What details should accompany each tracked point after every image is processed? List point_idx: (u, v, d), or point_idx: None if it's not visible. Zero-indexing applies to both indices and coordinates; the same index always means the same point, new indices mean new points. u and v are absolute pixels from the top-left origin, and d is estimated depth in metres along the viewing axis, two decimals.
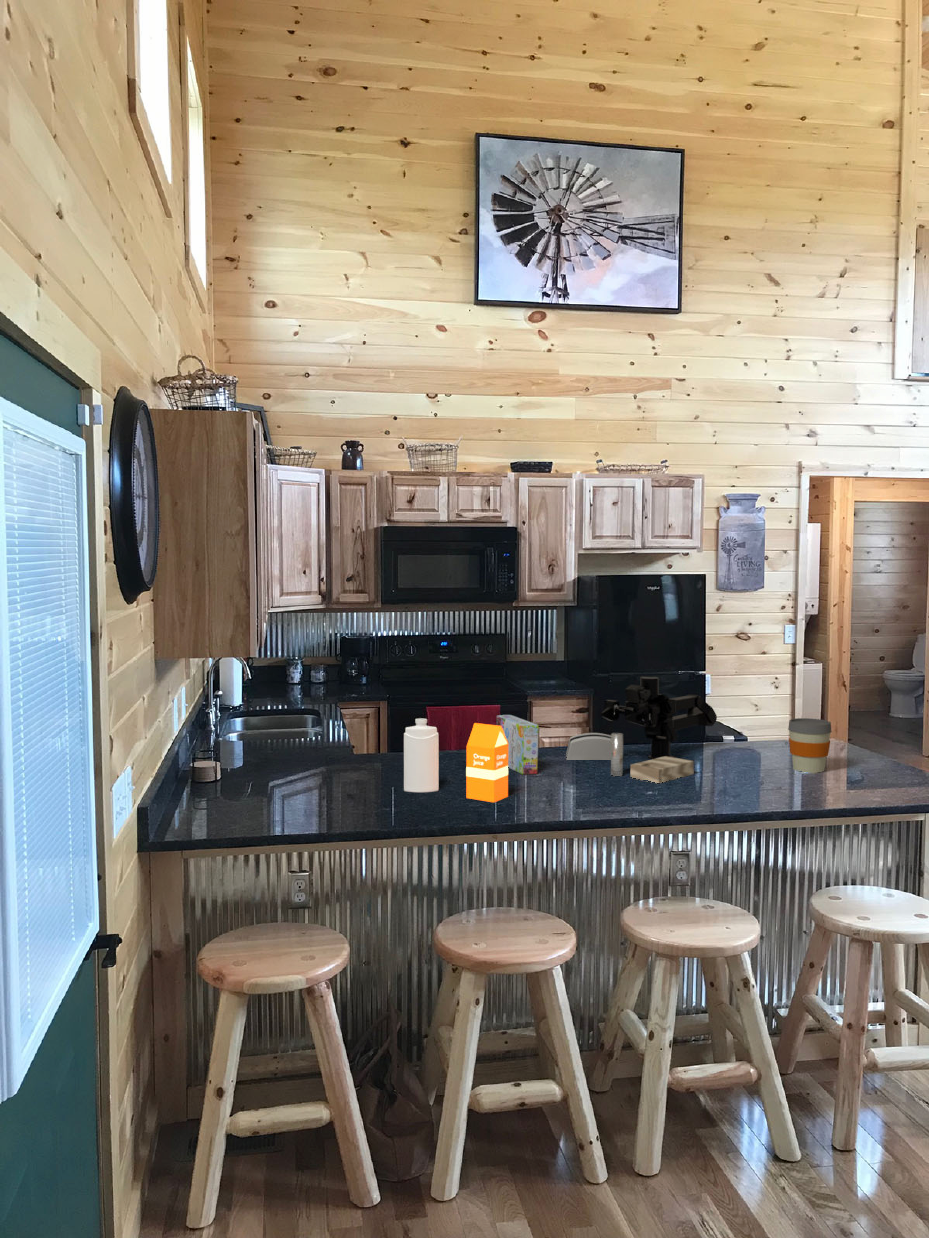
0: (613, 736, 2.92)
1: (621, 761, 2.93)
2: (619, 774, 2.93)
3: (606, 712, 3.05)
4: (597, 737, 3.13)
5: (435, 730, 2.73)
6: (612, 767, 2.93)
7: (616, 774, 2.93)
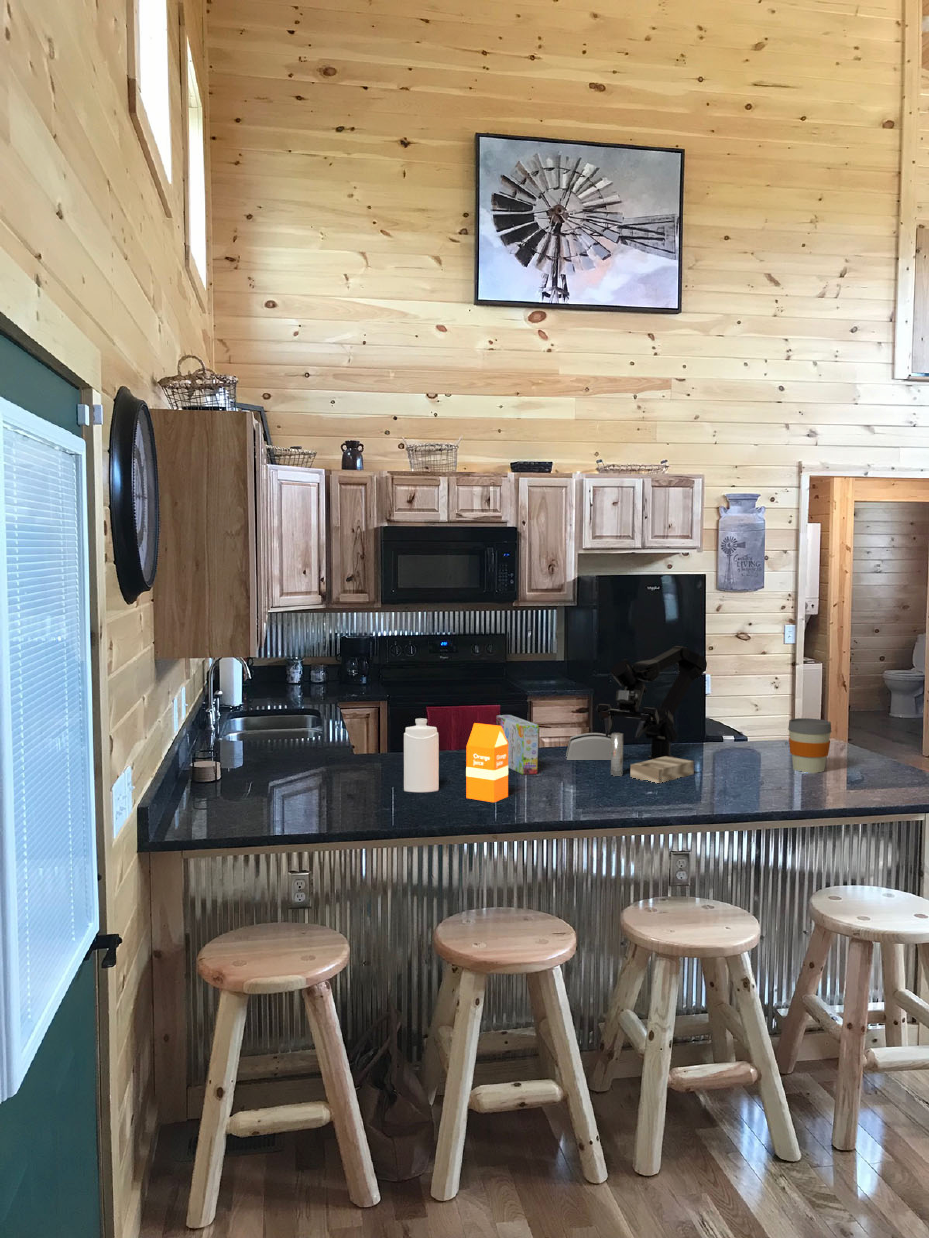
0: (613, 736, 2.92)
1: (621, 761, 2.93)
2: (619, 774, 2.93)
3: (608, 728, 3.01)
4: (597, 737, 3.13)
5: (435, 730, 2.73)
6: (612, 767, 2.93)
7: (616, 774, 2.93)
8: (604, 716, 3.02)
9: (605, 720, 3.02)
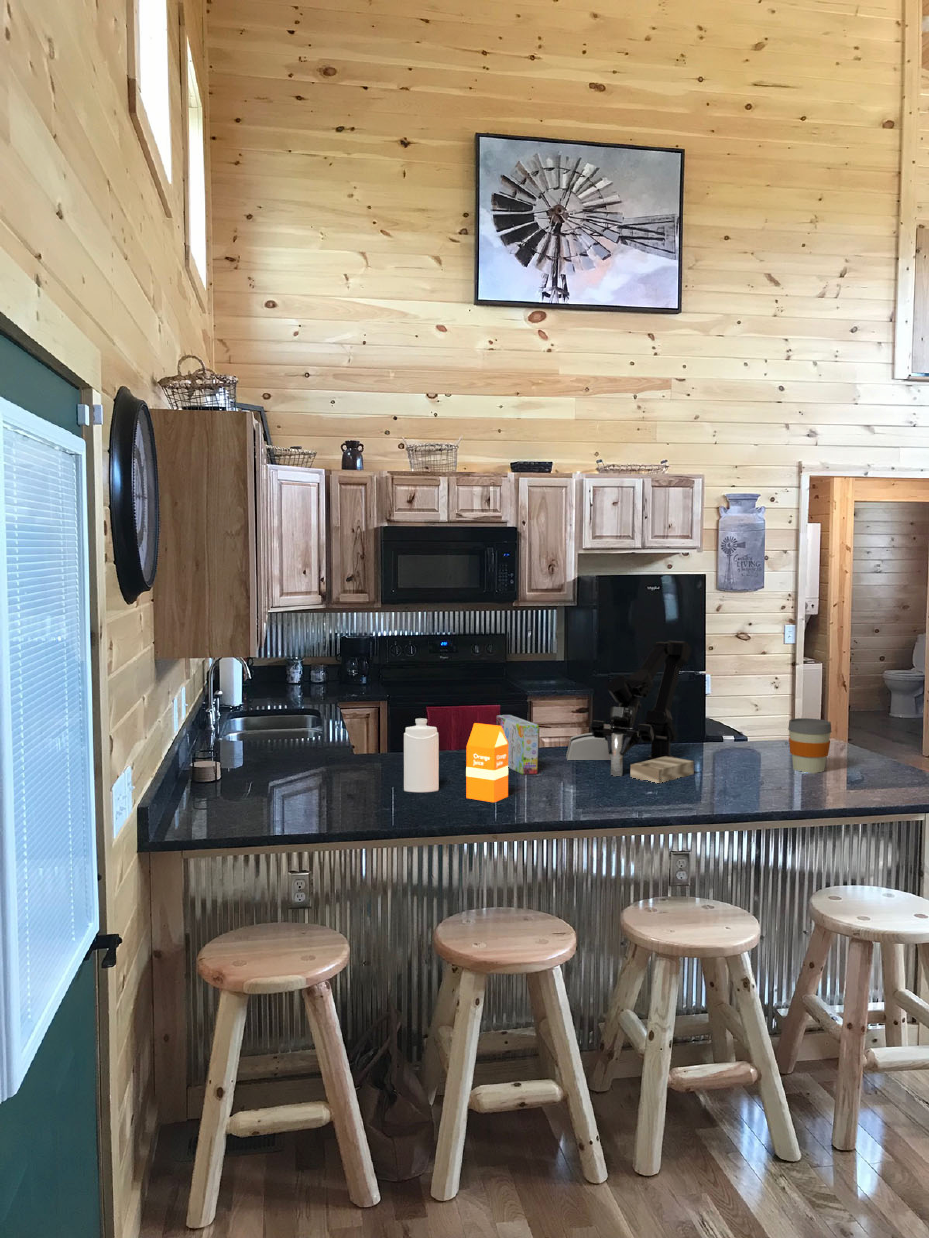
0: (613, 736, 2.92)
1: (621, 761, 2.93)
2: (619, 774, 2.93)
3: None
4: None
5: (435, 730, 2.73)
6: (612, 767, 2.93)
7: (616, 774, 2.93)
8: (607, 734, 2.96)
9: (608, 738, 2.96)
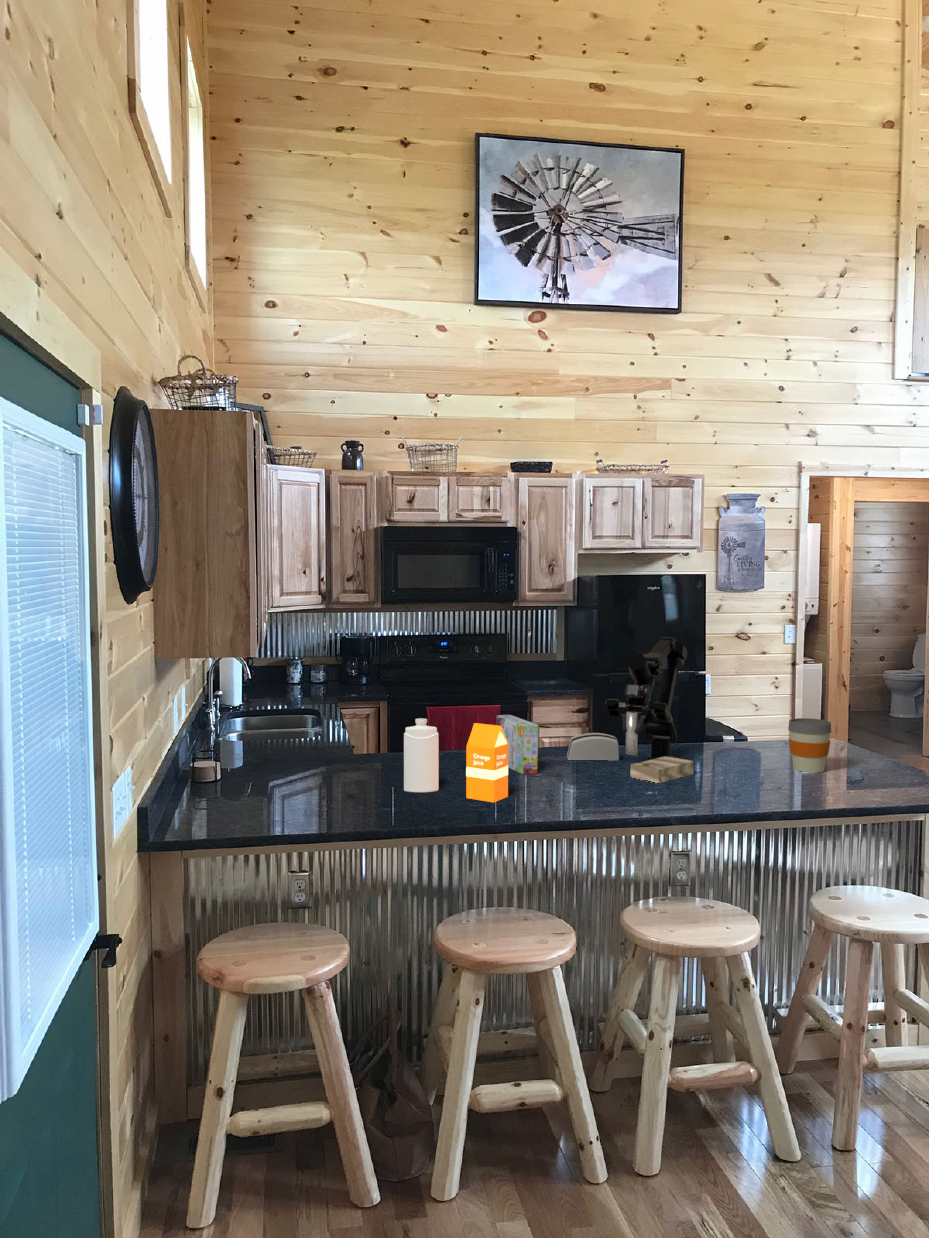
0: (628, 714, 2.90)
1: (636, 739, 2.91)
2: (634, 752, 2.90)
3: None
4: (599, 737, 3.13)
5: (435, 730, 2.73)
6: (627, 745, 2.91)
7: (630, 752, 2.90)
8: (621, 712, 2.94)
9: (623, 716, 2.94)
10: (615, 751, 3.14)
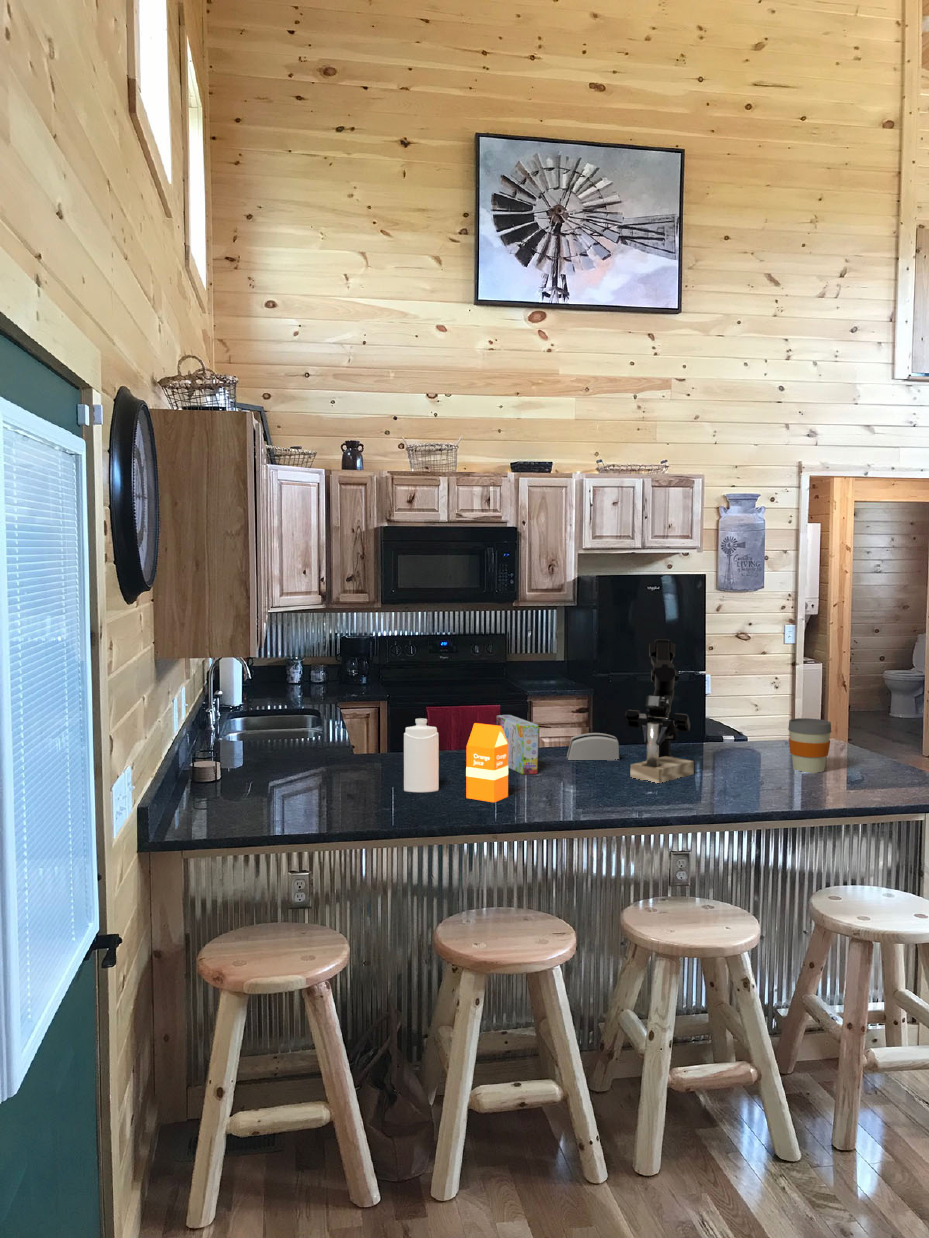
0: (649, 725, 2.88)
1: (657, 751, 2.88)
2: (655, 764, 2.88)
3: (646, 736, 2.90)
4: (599, 737, 3.13)
5: (435, 730, 2.73)
6: (648, 757, 2.89)
7: (652, 764, 2.88)
8: (642, 723, 2.92)
9: (643, 727, 2.91)
10: (615, 751, 3.14)
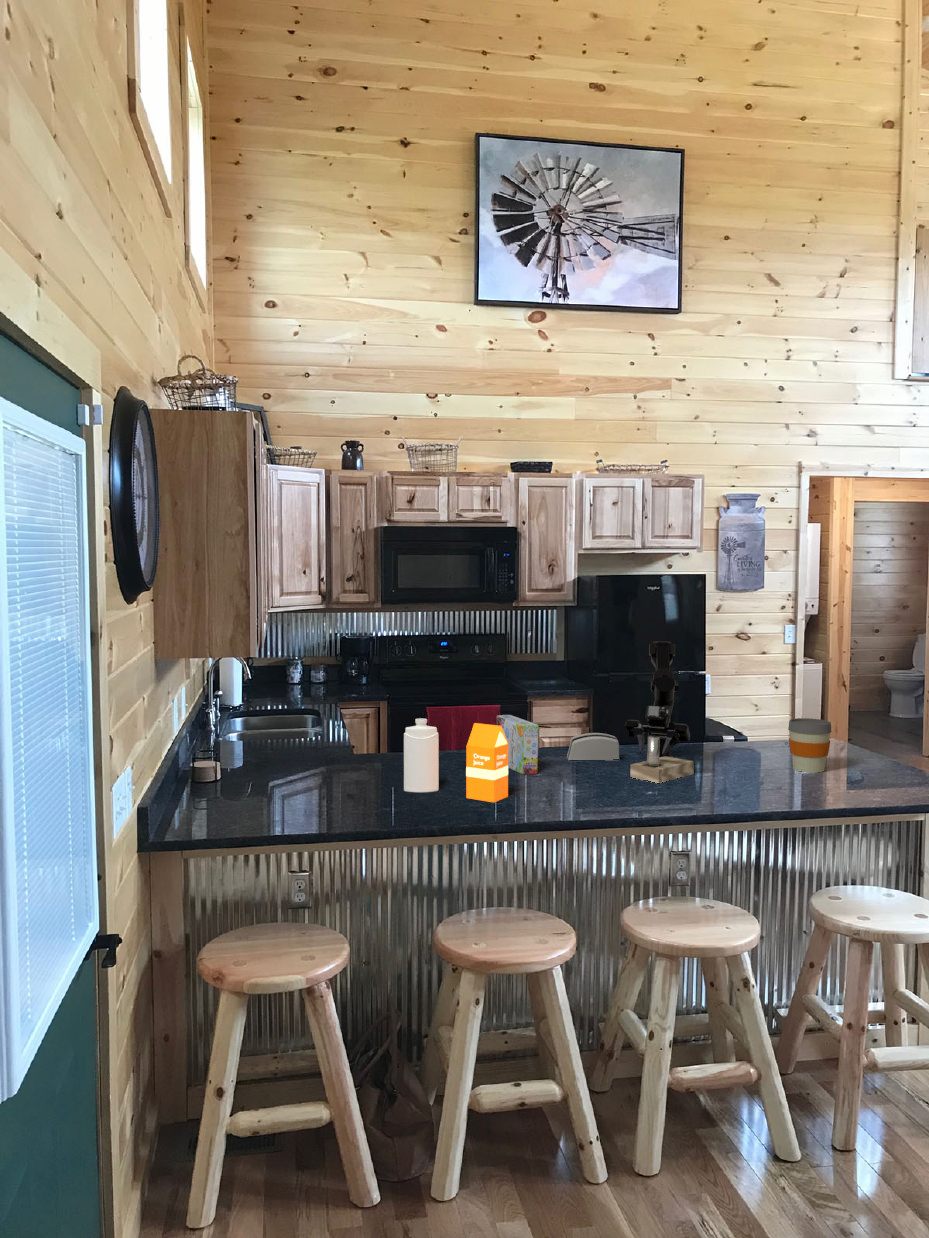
0: (649, 739, 2.88)
1: (657, 764, 2.88)
2: None
3: (642, 745, 2.91)
4: (599, 737, 3.13)
5: (435, 730, 2.73)
6: None
7: None
8: (637, 733, 2.92)
9: (638, 737, 2.92)
10: (615, 751, 3.15)
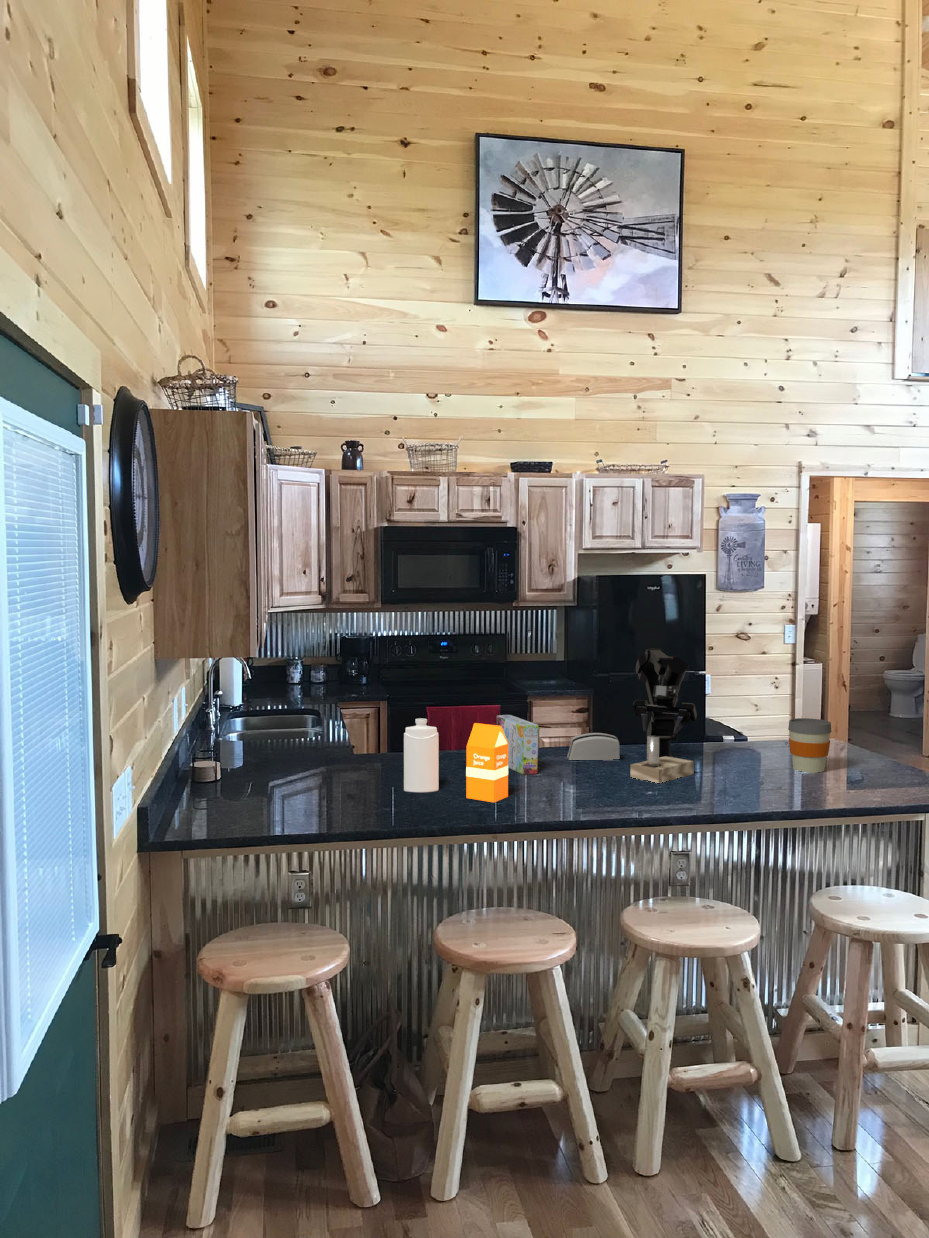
0: (649, 739, 2.88)
1: (657, 764, 2.89)
2: None
3: (645, 724, 2.99)
4: (600, 737, 3.13)
5: (435, 730, 2.73)
6: None
7: None
8: (641, 712, 3.00)
9: (642, 716, 3.00)
10: (616, 751, 3.15)
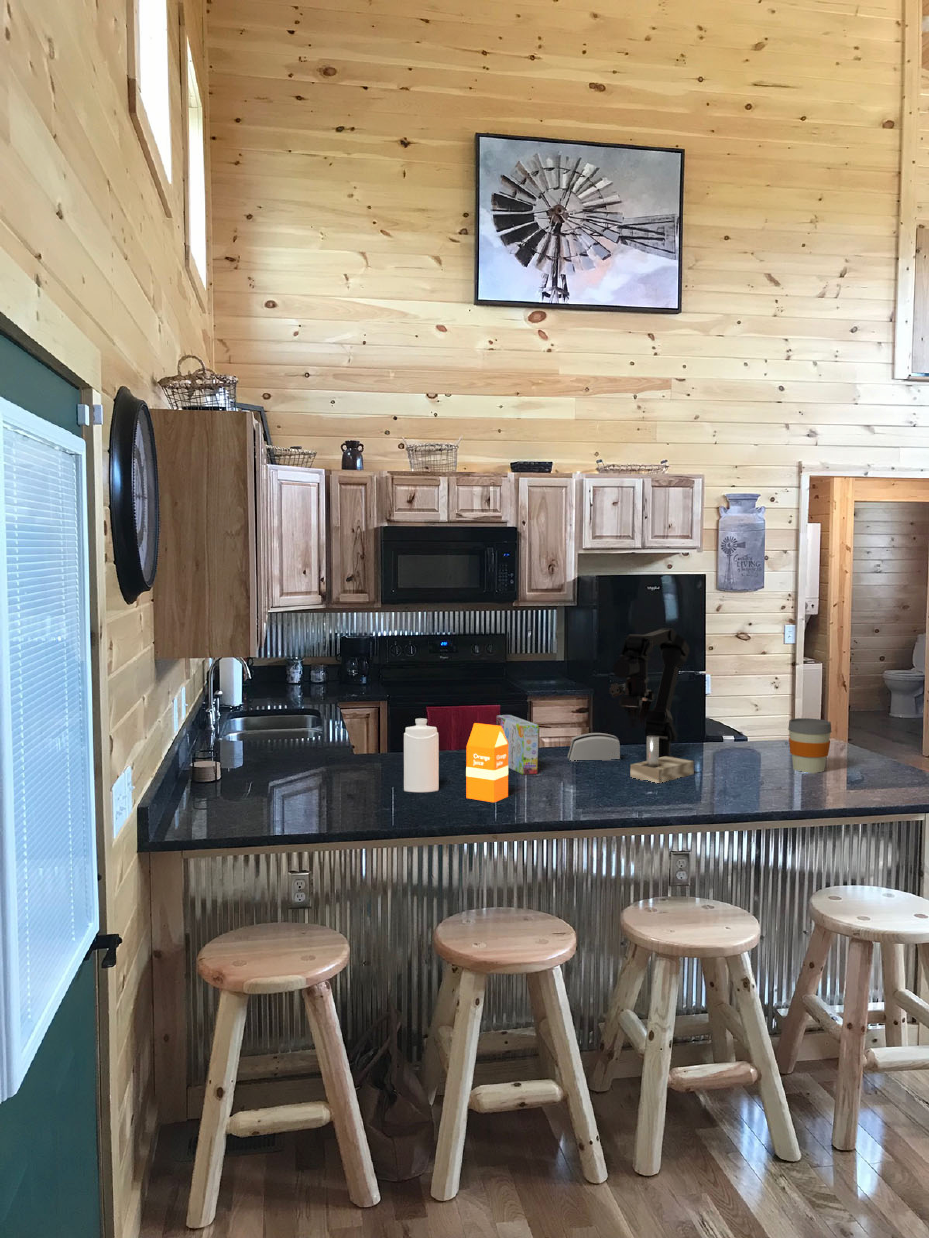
0: (649, 739, 2.88)
1: (657, 764, 2.88)
2: None
3: (639, 715, 3.09)
4: (600, 737, 3.13)
5: (435, 730, 2.73)
6: None
7: None
8: None
9: None
10: (616, 751, 3.15)
